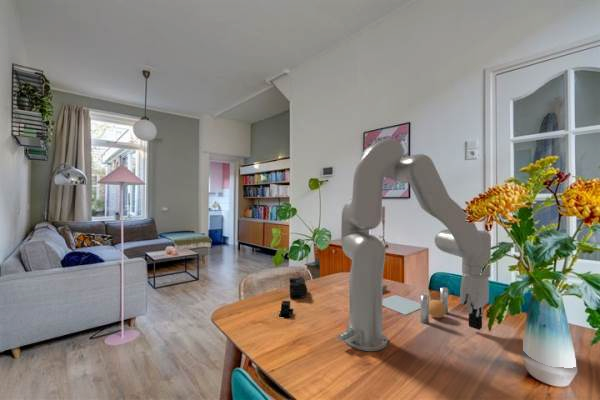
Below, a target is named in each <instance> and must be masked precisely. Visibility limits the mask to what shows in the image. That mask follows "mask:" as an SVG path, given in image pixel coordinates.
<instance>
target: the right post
mask: <svg viewBox="0 0 600 400" xmlns="http://www.w3.org/2000/svg"><path fill="white" fill-rule="evenodd" d="M439 289H440V290H439V291H440V293H439V294H440V295H439V296H440V297H439V301H440V302H442V303H443V304H444V306H445V308H446V312H445V315H448V314H449V288H448V287H445V286H442V287H440V288H439Z"/></svg>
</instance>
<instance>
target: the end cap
mask: <svg viewBox="0 0 600 400" xmlns="http://www.w3.org/2000/svg"><path fill="white" fill-rule="evenodd" d="M306 294H308V287H307V284H306V280H305V279H304V277H303V276H298V278H297V277H296V278H295V277H294V278H293V277H292V278H289V299H291V300H294V299H295V300H297V299H298V300H300V299H302V298H304V297H305V296H306Z"/></svg>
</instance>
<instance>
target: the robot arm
mask: <svg viewBox="0 0 600 400" xmlns="http://www.w3.org/2000/svg"><path fill="white" fill-rule="evenodd" d="M403 155H404V146H403V144H402V143H401V142H400V141H399V140H398V139H395V138H385V139H382V140H381V141H378V142H376V143H374V144H372V145H370V146H368V147H366V149H364V151H363V152H362V155H361V159H360V160H359V162H358V164H357V166H356V167H355V170H354V174H353V182H352V183H353V184H352V198H350V199H349V200H348V201H346V203H345V204H344V205H343V208H342V211H341V223H340V224H341V227H340V228H341V230H340V233H341V236H340V239H341V241H340V244H341V249H342V252H343V253H344V254H345V257H348V258H349V259H350V260H351V266H350V271H349V321H348V322H349V324H348V325H346V330H345V331H344V332H342V333H339V334H338V335H337V339H338V341H339V342H344V341H345V343H346V344H348V345H349V346H350V347H352V348H354V349H357V350H358V351H359V350H360V351H365V352H376V351H378V352H379V351H381V350H383V349H384V348H386V347H387V346H388V337H387V335H386V334H385V333H384V332H383V306H382V299H383V292H382V284H383V277H384V276H383V275H384V268H385V267H384V266H385V263H386V249H385V246H384V244H383V242H382V241H381V240H380V239H379V238H378V237H377V236H374V235H373V234H370V230H374V229H376V228H378V226H379V225H380V224H381V222H382V217H383V216H382V215H383V184H384V179H385V178H386V179H388V180H392V181H394V182H398V183H401V184H408V183H409V186H410V188H411V190H412V191H413V193H414V195H415V197H416V200H417V202H418V204H419V206H420V208H421V209H422V210H423V211H424V212H425V213H427V214H429V215H430V216H432V217H434V218H436V219H437V220H438V221H439V222H441V223H442V224H443V225H444V226H445V227H446V229H444V230H440V231H438V233H436V235H435V236H434V244H435V246H436V248H437V249H438V250H440V251H441V252H442V253H445V254H449V255H453V256H456V257H460V258H461V260H462V261H461V263H462V264H461V274H462V275H461V281H460V292H459V293H460V295H459V304H460V305H461V306H465V305H466V307H465V312H466V313H467V314H468V327H470V328H473V329H475V330H478V331H480V330H482V328H483V315H484V313H483V312H484V311H483V310H484V307H485V305H488V303H489V300H490V284H489V278H491V270H492V267H491V264H490V265H488V266H487V268H486V269H485V271H484V272H483V273H482V274H481V275H480V273H481V270H482V268H483V266H484V264H485V263H486V262H487V261H488V260H489V259H490V258H491V259H492V255H491V254H492V249H490V248H492V236H491V234H490V232H488V231H485V230H478V228H477V225H476V224H475V222H474V223H471V224H470V223H467V222H465V221H464V220H465V218H466V217H467V214H468V213H467V212H466V213H467V214H466V213H464V212H463V210H464V209H463V208H462V207H461V206H460V205H459V204H458V203H457V202H456V201H455V200H454V199H452V198H451V196H450V195H449V193H448V191H447V188H446V187H445V185H444V183H443V181H442V179H441V176H440V173H439V171H438V170H437V168H436V166H435V163H434V162H433V159H431V157H430V156H428V155H426V154H424V153H422V154H412V155H409V156H403Z"/></svg>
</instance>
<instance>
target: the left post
mask: <svg viewBox="0 0 600 400" xmlns="http://www.w3.org/2000/svg"><path fill="white" fill-rule="evenodd" d="M429 302H430V295H429V294H428V295H427V294H421V295H420V303H421V309H420V323H421V324H423V325H428V324H430V314H429Z"/></svg>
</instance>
